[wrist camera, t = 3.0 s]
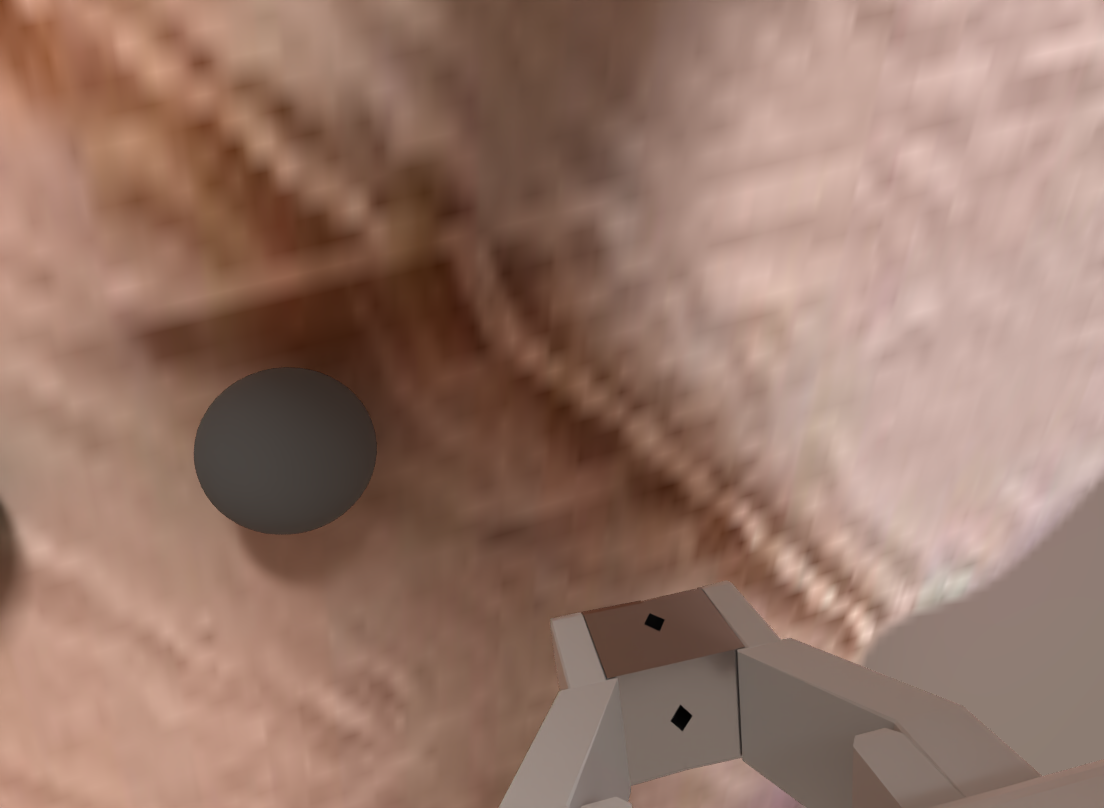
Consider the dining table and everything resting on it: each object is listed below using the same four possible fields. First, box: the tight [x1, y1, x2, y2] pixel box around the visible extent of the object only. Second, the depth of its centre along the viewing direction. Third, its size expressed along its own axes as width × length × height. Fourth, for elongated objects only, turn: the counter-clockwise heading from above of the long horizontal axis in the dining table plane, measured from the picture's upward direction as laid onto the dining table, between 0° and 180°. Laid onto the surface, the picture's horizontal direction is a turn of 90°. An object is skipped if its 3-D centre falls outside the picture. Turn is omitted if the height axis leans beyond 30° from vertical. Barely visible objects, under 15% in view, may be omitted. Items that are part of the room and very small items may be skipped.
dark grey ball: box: [194, 367, 377, 534], centre depth 21 cm, size 6×6×6 cm
